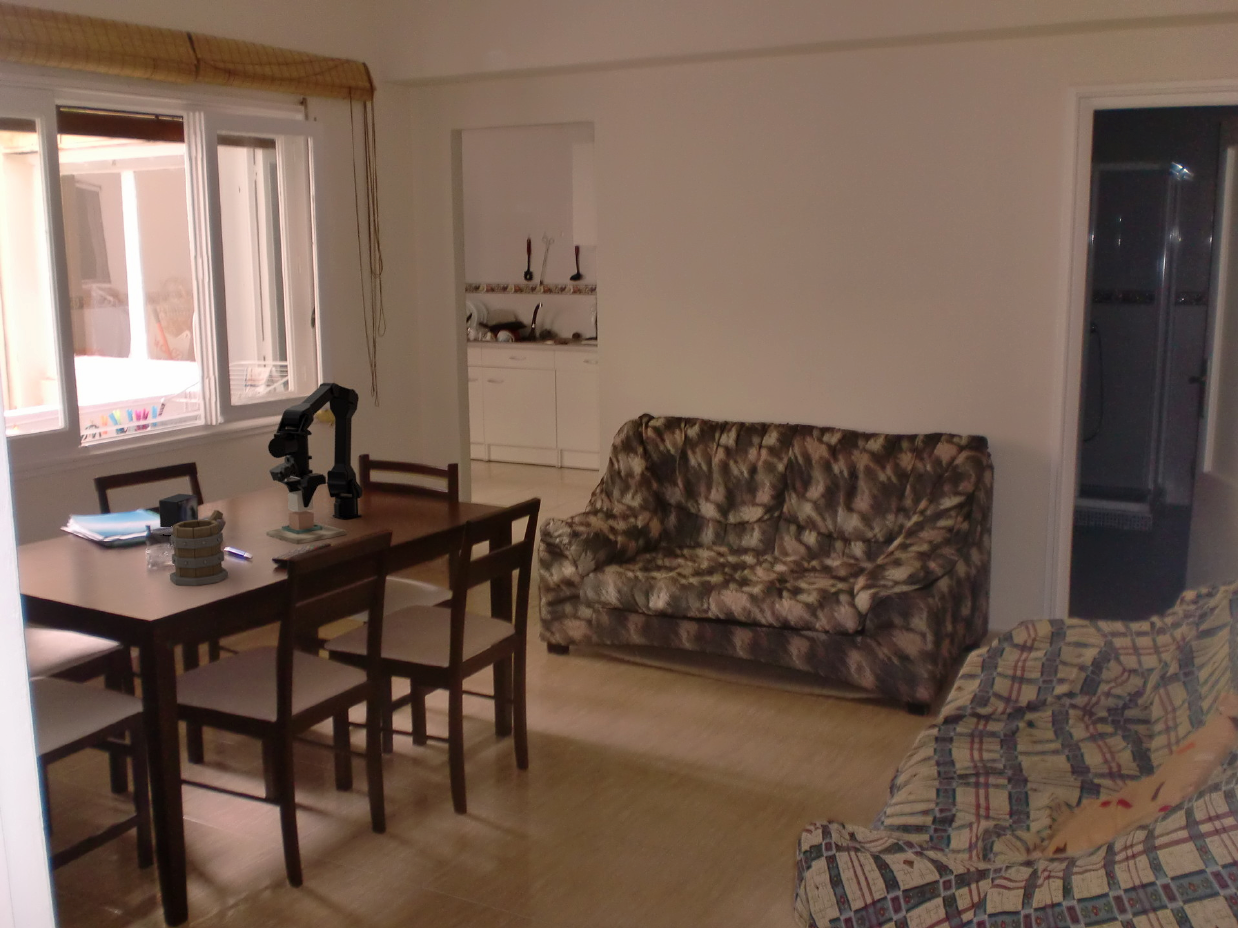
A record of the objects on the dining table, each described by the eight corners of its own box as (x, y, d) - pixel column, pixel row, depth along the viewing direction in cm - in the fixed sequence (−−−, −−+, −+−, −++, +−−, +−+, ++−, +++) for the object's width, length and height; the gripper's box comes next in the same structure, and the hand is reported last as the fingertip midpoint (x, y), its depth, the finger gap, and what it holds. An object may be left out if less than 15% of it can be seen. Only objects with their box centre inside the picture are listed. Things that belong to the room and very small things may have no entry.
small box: (180, 537, 330) (177, 501, 328) (159, 536, 331) (157, 500, 330) (200, 528, 340) (198, 494, 339) (180, 527, 342) (178, 493, 340)
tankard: (210, 586, 279) (206, 526, 276) (161, 584, 281) (157, 524, 278) (249, 566, 298) (246, 509, 295) (203, 564, 300) (200, 507, 297)
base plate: (314, 526, 343) (314, 518, 343) (345, 534, 333) (345, 527, 332) (266, 535, 332) (266, 527, 332) (296, 544, 321) (296, 536, 321)
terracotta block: (304, 527, 337) (303, 510, 336) (314, 529, 334) (313, 512, 333) (289, 529, 333) (288, 512, 332) (299, 532, 330) (298, 515, 329)
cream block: (303, 507, 336) (302, 490, 335) (313, 509, 333) (312, 492, 332) (288, 509, 332) (287, 492, 331) (298, 512, 329) (297, 495, 328)
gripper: (255, 452, 330) (258, 505, 333) (291, 459, 318) (293, 515, 320) (290, 447, 338) (292, 500, 341) (326, 454, 326) (328, 509, 328)
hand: (301, 506), depth 332 cm, fingers closed on cream block, 5 cm apart
